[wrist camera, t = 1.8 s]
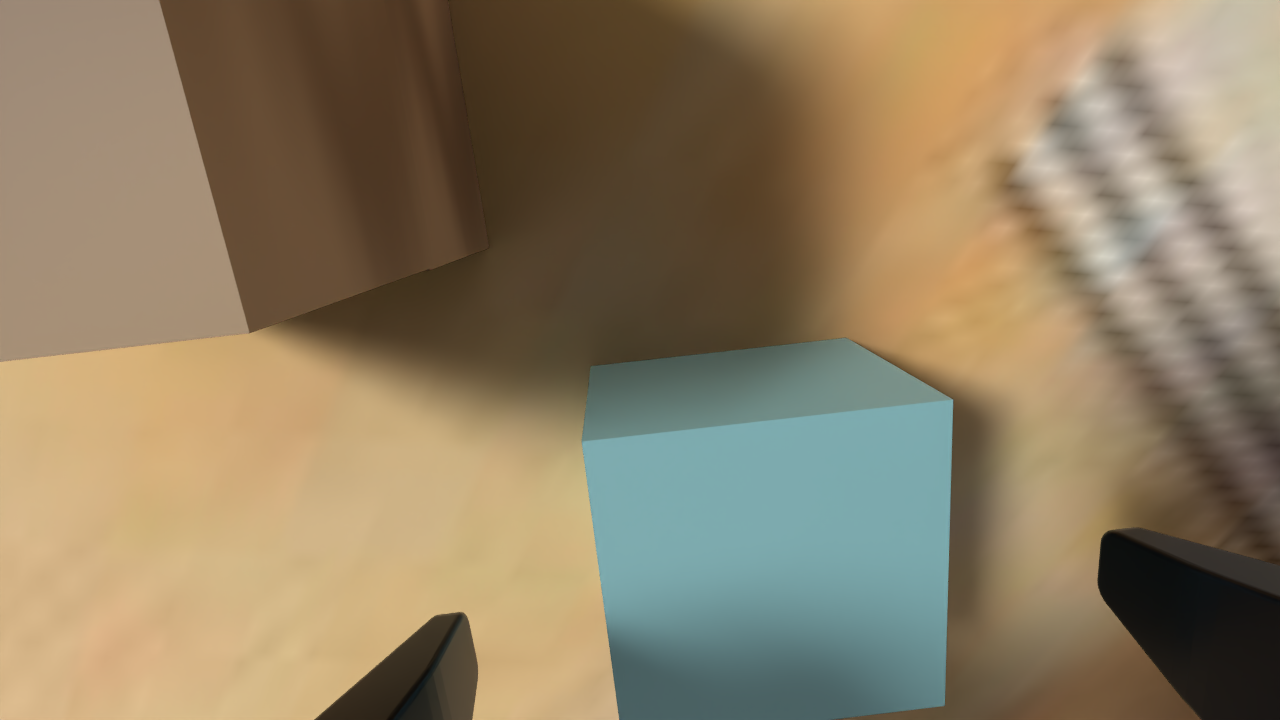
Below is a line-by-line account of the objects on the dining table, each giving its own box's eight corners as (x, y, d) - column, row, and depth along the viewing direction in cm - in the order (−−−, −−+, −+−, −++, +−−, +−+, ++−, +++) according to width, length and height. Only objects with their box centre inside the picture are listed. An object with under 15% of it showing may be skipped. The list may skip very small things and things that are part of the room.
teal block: (848, 559, 13) (945, 705, 10) (619, 587, 13) (623, 745, 9) (843, 336, 12) (952, 399, 8) (591, 364, 12) (581, 441, 8)
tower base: (490, 247, 11) (429, 270, 8) (164, 284, 11) (-69, 325, 7) (428, -130, 10) (312, -342, 6) (50, -91, 10) (-316, -283, 6)
